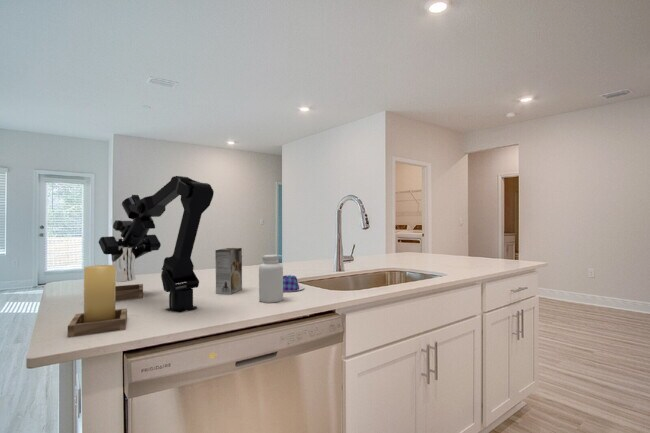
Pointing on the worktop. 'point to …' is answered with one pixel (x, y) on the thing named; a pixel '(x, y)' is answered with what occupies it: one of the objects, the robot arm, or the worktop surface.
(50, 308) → the worktop surface
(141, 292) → the empty pocket
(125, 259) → the beer glass
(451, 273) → the worktop surface
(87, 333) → the brown square tray piece
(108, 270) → the cream pillar candle
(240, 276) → the coffee box
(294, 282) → the plaid hat
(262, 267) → the pill bottle
